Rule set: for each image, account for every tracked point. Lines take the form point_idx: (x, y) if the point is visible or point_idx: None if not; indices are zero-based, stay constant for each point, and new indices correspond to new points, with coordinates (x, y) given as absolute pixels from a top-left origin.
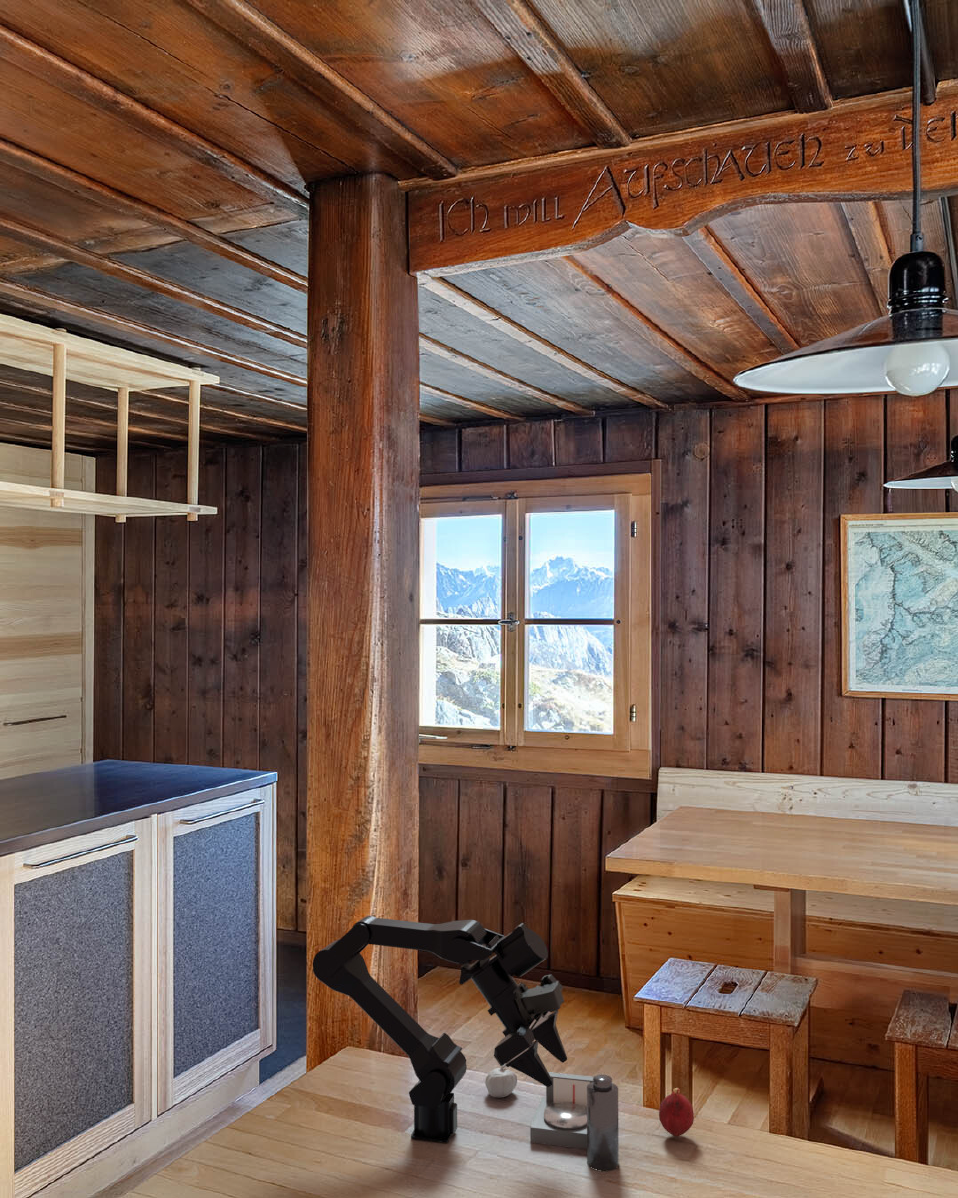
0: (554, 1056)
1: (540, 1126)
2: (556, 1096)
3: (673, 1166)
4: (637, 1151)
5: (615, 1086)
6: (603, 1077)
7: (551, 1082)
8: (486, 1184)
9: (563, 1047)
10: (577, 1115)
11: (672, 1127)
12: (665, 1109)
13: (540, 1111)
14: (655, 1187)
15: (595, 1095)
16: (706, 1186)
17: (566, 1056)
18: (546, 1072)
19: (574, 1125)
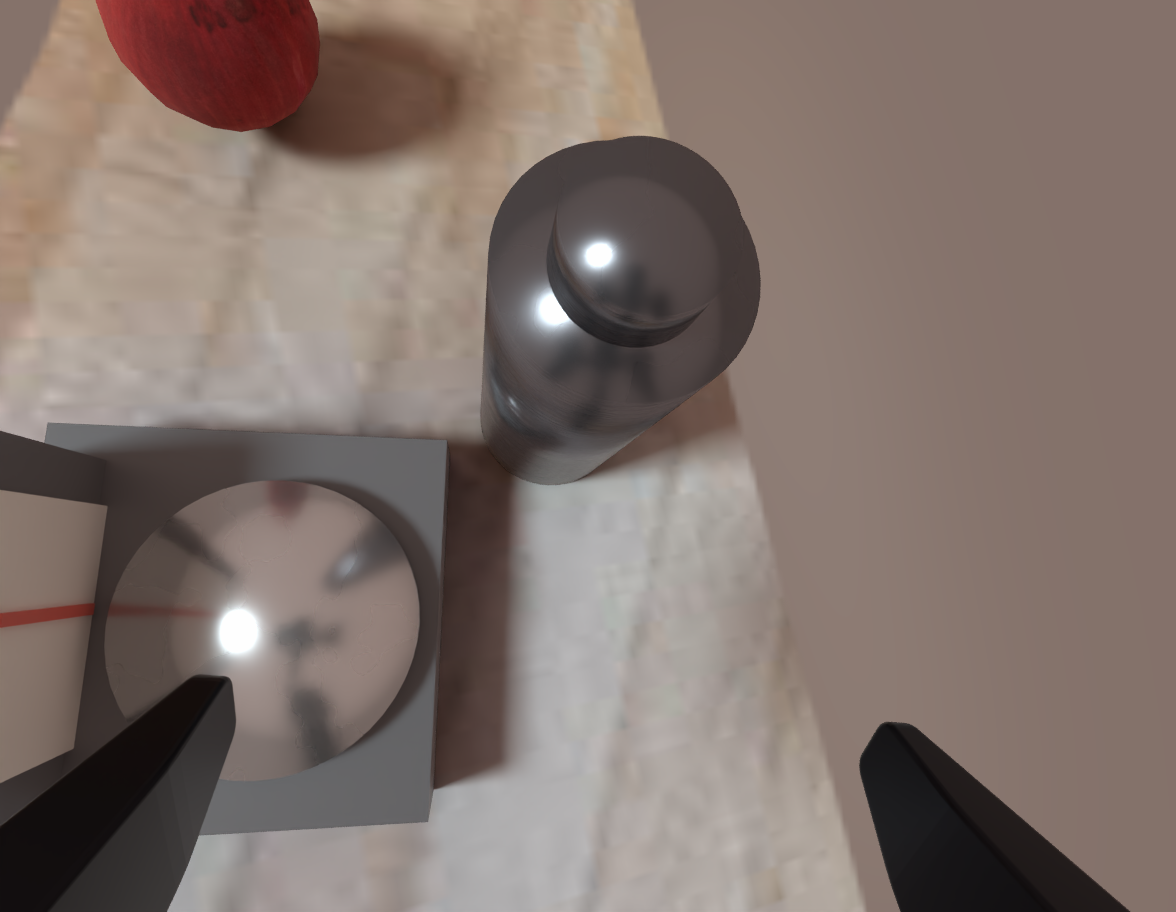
0: (180, 880)
1: (405, 763)
2: (44, 739)
3: (514, 139)
4: (420, 275)
5: (575, 160)
6: (624, 213)
7: (924, 739)
8: (831, 899)
9: (52, 790)
10: (279, 560)
11: (315, 69)
12: (255, 37)
13: (210, 808)
14: None
15: (750, 324)
16: (628, 39)
17: (187, 693)
18: (1041, 848)
19: (405, 561)
